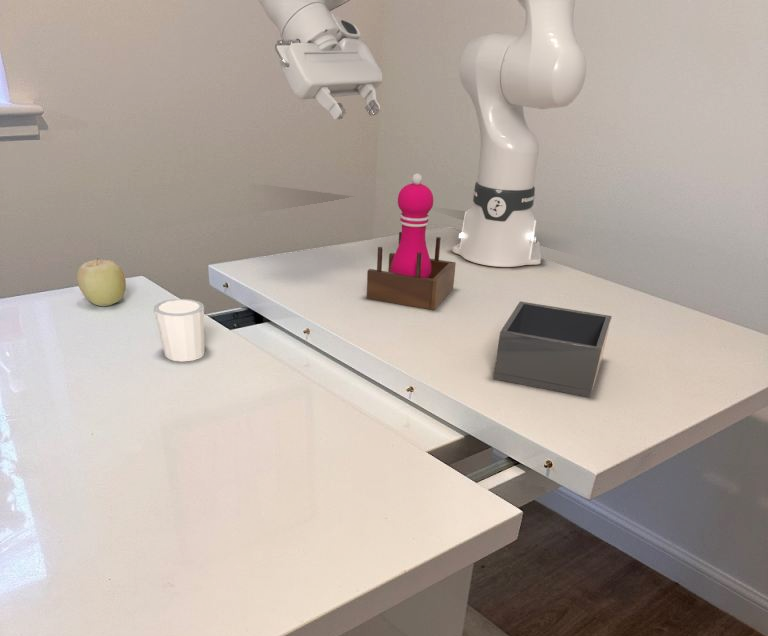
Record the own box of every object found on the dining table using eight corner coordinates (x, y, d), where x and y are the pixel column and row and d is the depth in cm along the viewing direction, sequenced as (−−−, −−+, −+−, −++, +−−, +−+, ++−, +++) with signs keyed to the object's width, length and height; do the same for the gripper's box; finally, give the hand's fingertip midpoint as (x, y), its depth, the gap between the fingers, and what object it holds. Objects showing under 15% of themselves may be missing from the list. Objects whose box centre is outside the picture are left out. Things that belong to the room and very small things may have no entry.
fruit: (138, 303, 120) (130, 254, 115) (98, 314, 115) (89, 263, 110) (111, 292, 123) (103, 244, 119) (72, 302, 119) (62, 253, 114)
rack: (389, 279, 136) (391, 230, 130) (453, 289, 132) (458, 239, 127) (366, 298, 126) (368, 246, 121) (434, 310, 123) (438, 256, 118)
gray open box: (512, 345, 112) (519, 301, 108) (601, 360, 108) (611, 315, 104) (493, 379, 101) (500, 331, 97) (590, 397, 98) (601, 349, 94)
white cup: (192, 340, 108) (187, 294, 104) (218, 355, 104) (213, 307, 100) (151, 352, 104) (144, 304, 100) (176, 367, 100) (170, 319, 96)
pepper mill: (414, 303, 125) (422, 180, 114) (381, 293, 129) (386, 173, 117) (437, 293, 130) (447, 174, 118) (405, 284, 134) (412, 167, 122)
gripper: (279, 23, 109) (328, 104, 110) (363, 26, 123) (405, 97, 124) (260, 56, 114) (307, 133, 115) (342, 54, 127) (383, 123, 128)
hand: (359, 114), depth 119 cm, fingers open, 8 cm apart
